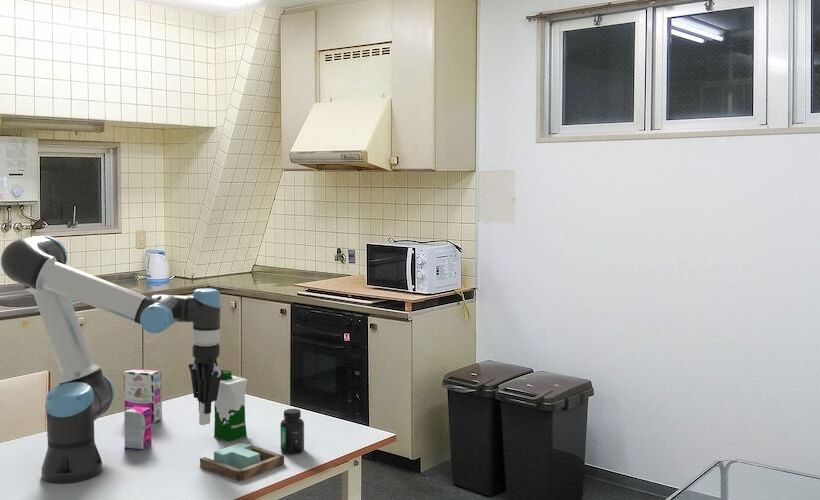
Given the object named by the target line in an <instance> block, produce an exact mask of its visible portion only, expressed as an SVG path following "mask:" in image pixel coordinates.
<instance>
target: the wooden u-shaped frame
mask: <svg viewBox="0 0 820 500" xmlns="http://www.w3.org/2000/svg"><path fill="white" fill-rule="evenodd" d="M250 445H251V444H250ZM251 451H254V452H257V453H260V462H259V463H256V464H254V465H251V466H248V467H245V468H243V469H240V468H237V467H234V466H229V465H226V464H223V463H220V462H217V461H214V459H211V458H208V457H206V456H203V457H200V458H199V468H201V469H204V470H207V471H209V472H212V473H214V474H217V475H220V476H224V477H227V478H229V479H232V480H234V481H237V482H242V481H246V480H247V479H250V478H253V477H256V476H258V475H261V474H263V473H265V472H268V471H270V470H273V469H276V468H279V467H281V466H285V454H280V453H277V452H274V451H271V450H267V449H264V448H261V447H259V446H255V445H251ZM261 460H262V461H261Z"/></svg>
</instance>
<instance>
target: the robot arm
mask: <svg viewBox="0 0 820 500" xmlns="http://www.w3.org/2000/svg"><path fill="white" fill-rule="evenodd" d="M67 262H68V251H67V250H66V247H65V246H64V245H63V243H61V242H60V241H59V240H58V239H56V238H54V237H52V236H49V235H35V236H31V237H27V238H26V237H25V238H22V239H16V240H14V241H12V242H11V243H9V244H8V245H7V246H6V247H5V248H4V250H3V251H2V253H1V257H0V266H1V268H2V271H3V273H4V274H5V276H7V277H8V278H9V279H10V280H12V281H13V282H16V283H18V284H20V285H23V287H24V289H25V291H26V292H29V293H31V294H33V296H34V297H33V298H34V299H35V302H36V305H37V308H38V310H39V313H40V317H41V319H42V322H43V324H44V327H45V331H46V333H47V336H48V338H49V341H50V344H51V347H52V350H53V353H54V355H55V359H56V362H57V364H58V366H59V370H60V372H61V374H60V375H61V376H60V377H59V380H58V381H57V382H58V384H59V385H56V386H54V387H53V388H51V389H50V390H49V391H48V392H47V394H46V398H45V399H46V400H45V401H46V402H45V405H44V407H45V411H46V413H45V414H46V431H47V432H46V434H47V435H46V437H47V449H46V453H45V456H44V458H43V459H44V460H43V462H42V466H41V479H42V480H44V481H46V482H49V483H55V484H56V483H57V484H65V483H67V484H68V483H76V482H81V481H85V480H88V479H91V478H93V477H95V476H97V475H99V474H100V473H101V472H102V471H103V459H102V457H101V455H100V452H99V449H98V447H97V445H96V442H95V421H96V420H97V419H98V418H100V417H101V416H102V415H104V414H105V413H106V412H107V411H108V409H109V408H110V407H111V405H112V403H113V401H114V397H115V389H114V388H115V387H114V385H113V383H112V381H111V380H110V379H109V377H107V376H105V375H104V373H103V371H102V368H101V366H100V365H97V364H96V363H94V362H93V359H92V356H91V354H90V351H89V348H88V345H87V342H86V340H85V338H84V337H85V336H84V335H83V334H84V333H83V331H82V329H81V326H80V322H79V319H78V316H77V314H76V312H75V311H76V310H75V308H74V305H73V302H72V300H75V301H77V302H80V303H83V304H85V305H88V306H91V307H94V309H95V308H96V309H98V310H102V311H104V312H106V313H109V314H111V315H114V316H117V317H120V318H123V319H125V320H128V321H130V322H134V323H136V324H138V325H140V326H141V327H142V328H143V329H144V330H145V331H146V332H148V333H150V334H159V333H162V332H164V331H167V330H168V329H169V328H170V327H171V326H172V325H174V324H175V323H192V343H193V344H192V351H191V353H192V357H193V358H194V361H193V362H192V363H188V369H189V372H190V378H191V386H192V393H193V398H195V399H197V402H198V413H199V417H198V419H199V420H198V424H199V425H200V426H205V425H209V424H211V413H212V403H213V402H214V401H216V400H217V396H218V390H219V385H220V380H221V377H222V375H223V370H224V369H220V368H218V361H217V359H218V358H219V356H220V355H221V354H220V352H221V351H220V347H221V346H220V343H219V342H220V341H221V340H220V339H221V337H220V336H221V307H222V304H221V293H220V291H219V289H215V288H208V287H207V288H196V289H195V290H193V293H192V295H175V294H173V295H172V294H165V293H164V294H153V295H152V296H150V297H148V296H147V295H144V294H142V293H139V292H137V291H134V290H131V289H128V288H125V287H123V286H121V285H119V284H115V283H114V282H111V281H108V280H105V279H102V278H100V277H97V276H95V275H92V274H89V273H86V272H84V271H82V270H78V269H76V268H74V267H71V266H69V265H67Z"/></svg>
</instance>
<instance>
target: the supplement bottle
mask: <svg viewBox="0 0 820 500" xmlns="http://www.w3.org/2000/svg"><path fill="white" fill-rule="evenodd" d="M301 413H302V412H301V410H300V409H297V408H288V409H285V410H283V419H282V420H281V422H280V425H279V426H280V429H279V431H280V452H281V453H283V455H292V456H293V455H298V454H301V453H303V452H304V451H305V422H304V420H303V419H302V415H301Z"/></svg>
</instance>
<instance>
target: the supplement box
mask: <svg viewBox="0 0 820 500" xmlns="http://www.w3.org/2000/svg"><path fill="white" fill-rule="evenodd" d="M123 416H124V420H123V421H124V422H123V423H124V447H123V448H124V450H128V451H144V449H146V448H147V447H149V446H151V445H152V423H151V408H148V407H137V406H134V407H132V408H130V409H128V410H126V411H125V410H124V415H123Z"/></svg>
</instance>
